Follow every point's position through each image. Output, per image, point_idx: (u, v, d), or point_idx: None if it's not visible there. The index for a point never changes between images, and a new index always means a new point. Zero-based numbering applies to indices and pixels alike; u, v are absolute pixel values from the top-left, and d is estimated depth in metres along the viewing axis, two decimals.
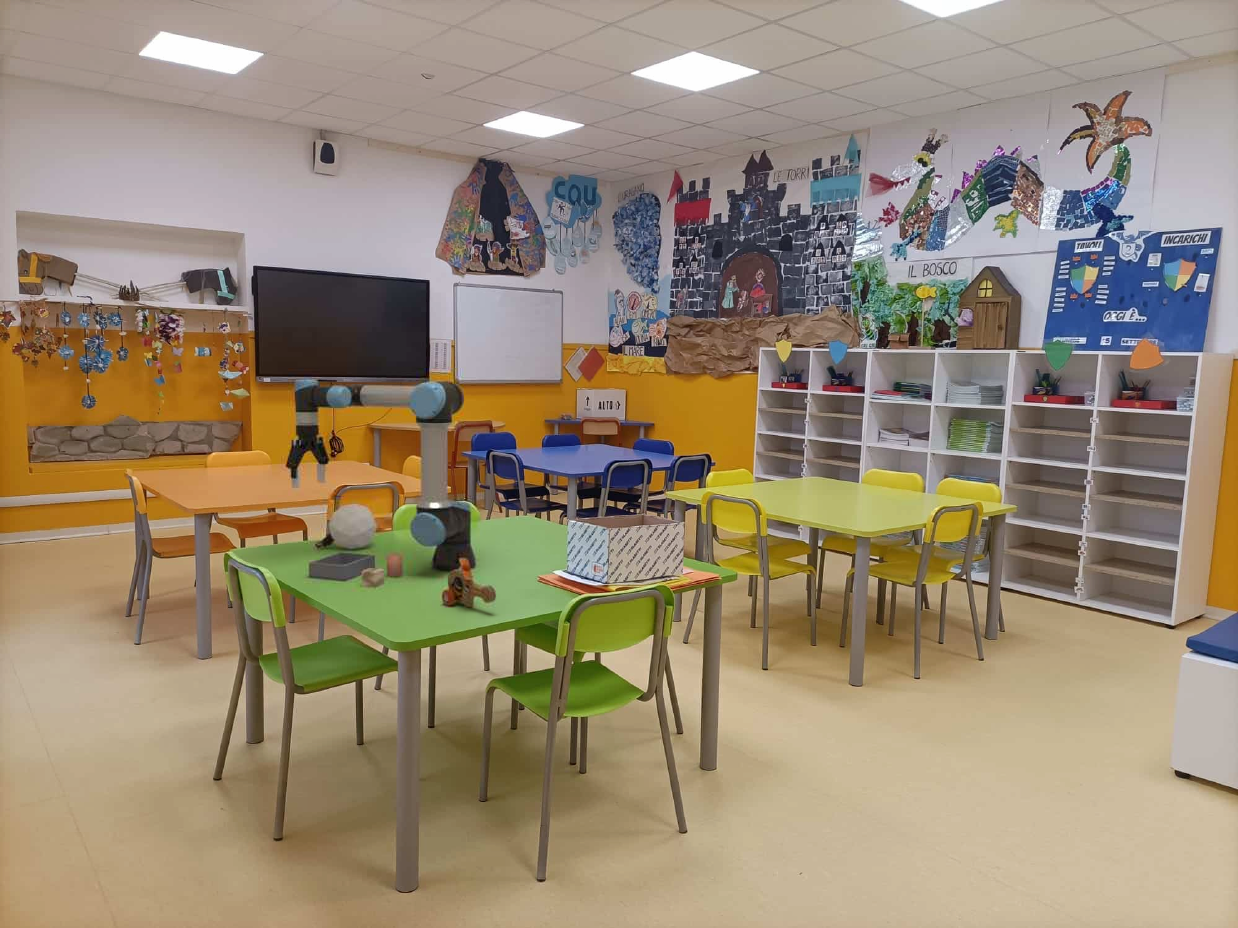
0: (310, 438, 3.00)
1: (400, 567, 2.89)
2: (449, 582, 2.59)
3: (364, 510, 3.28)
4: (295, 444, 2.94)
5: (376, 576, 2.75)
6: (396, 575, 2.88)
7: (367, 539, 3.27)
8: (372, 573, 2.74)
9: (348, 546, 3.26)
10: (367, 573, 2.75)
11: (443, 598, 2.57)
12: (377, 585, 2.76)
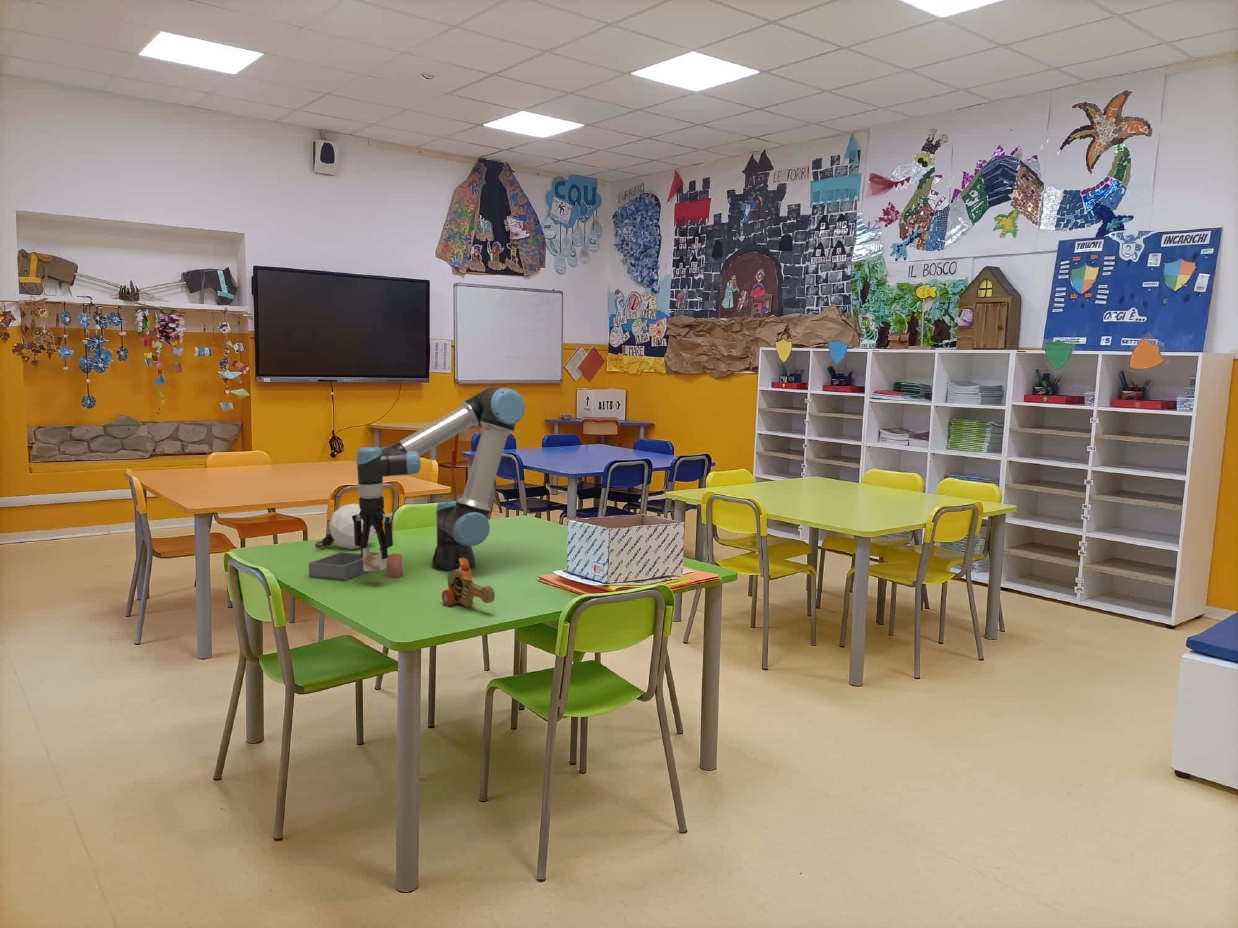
0: (370, 512, 2.74)
1: (400, 567, 2.89)
2: (449, 582, 2.59)
3: None
4: None
5: (377, 560, 2.74)
6: (396, 575, 2.88)
7: None
8: (373, 557, 2.74)
9: (348, 546, 3.26)
10: (368, 557, 2.75)
11: (443, 598, 2.57)
12: None
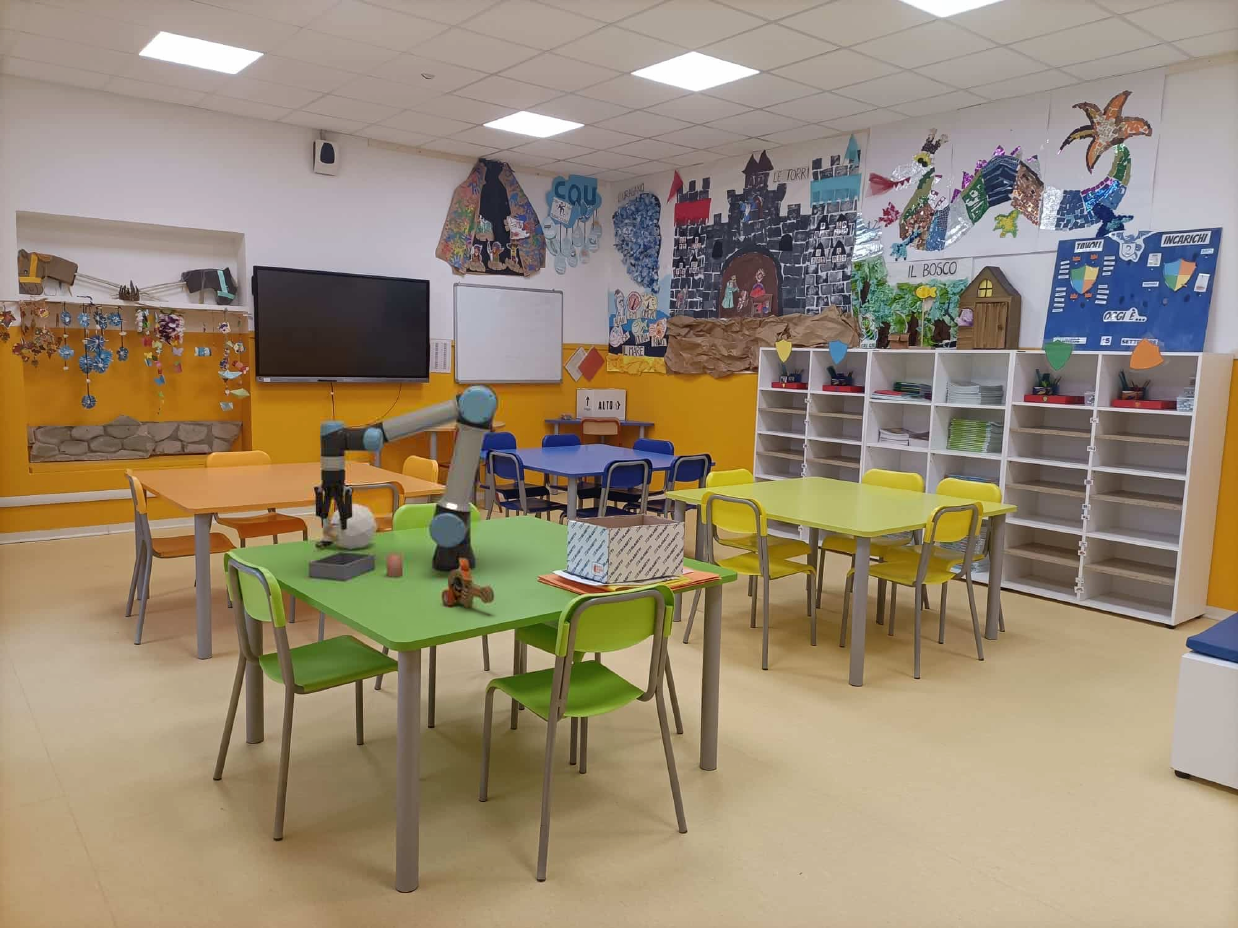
0: (331, 484, 2.84)
1: (400, 567, 2.89)
2: (449, 582, 2.59)
3: (364, 510, 3.28)
4: None
5: (336, 531, 2.84)
6: (396, 575, 2.88)
7: (367, 539, 3.27)
8: (333, 527, 2.84)
9: (348, 546, 3.26)
10: (328, 527, 2.84)
11: (443, 598, 2.57)
12: None
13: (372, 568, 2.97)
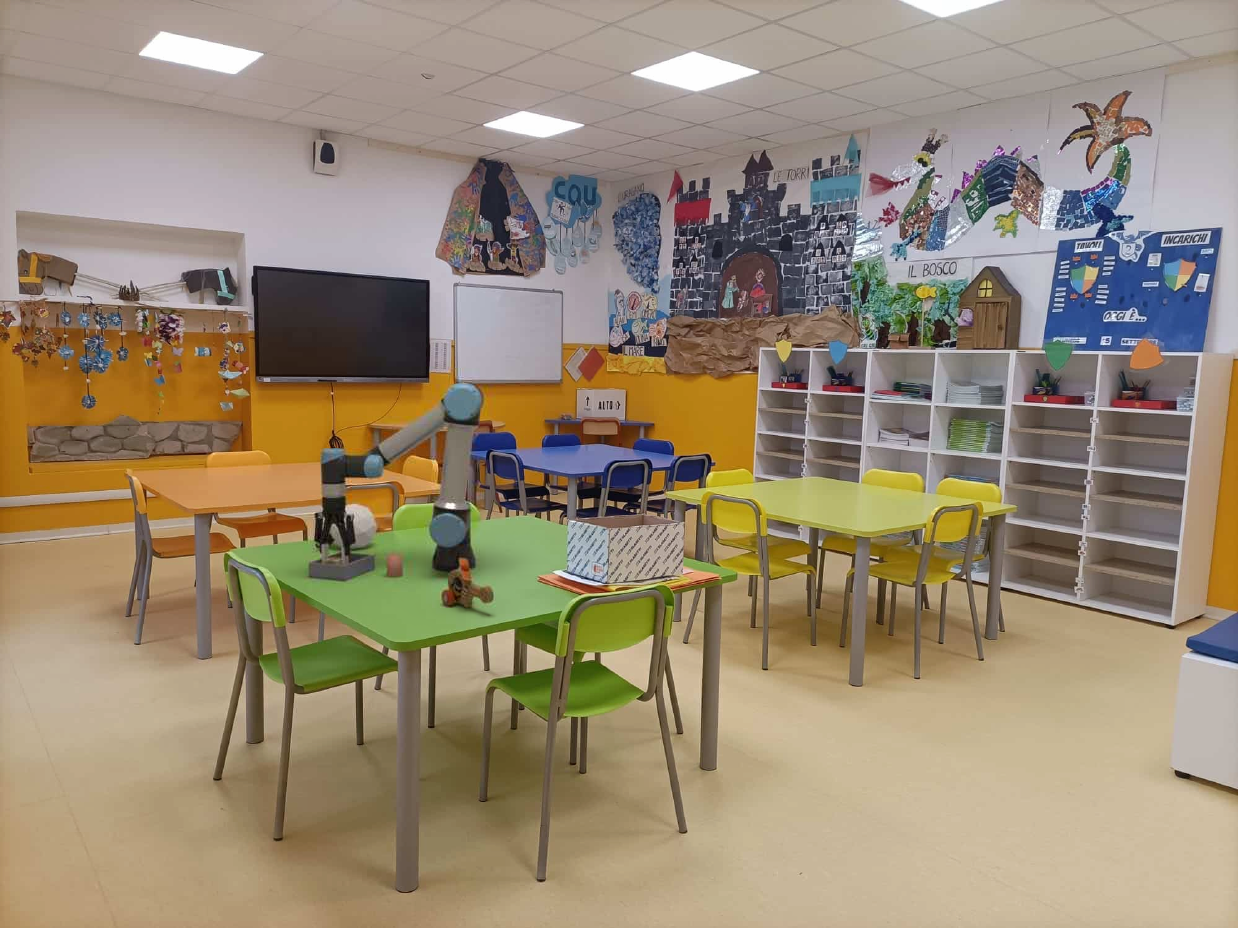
0: (332, 511, 2.85)
1: (400, 567, 2.89)
2: (449, 582, 2.59)
3: (364, 510, 3.28)
4: None
5: None
6: (396, 575, 2.88)
7: (367, 539, 3.27)
8: (334, 561, 2.85)
9: None
10: (329, 562, 2.85)
11: (443, 598, 2.57)
12: None
13: (372, 568, 2.97)
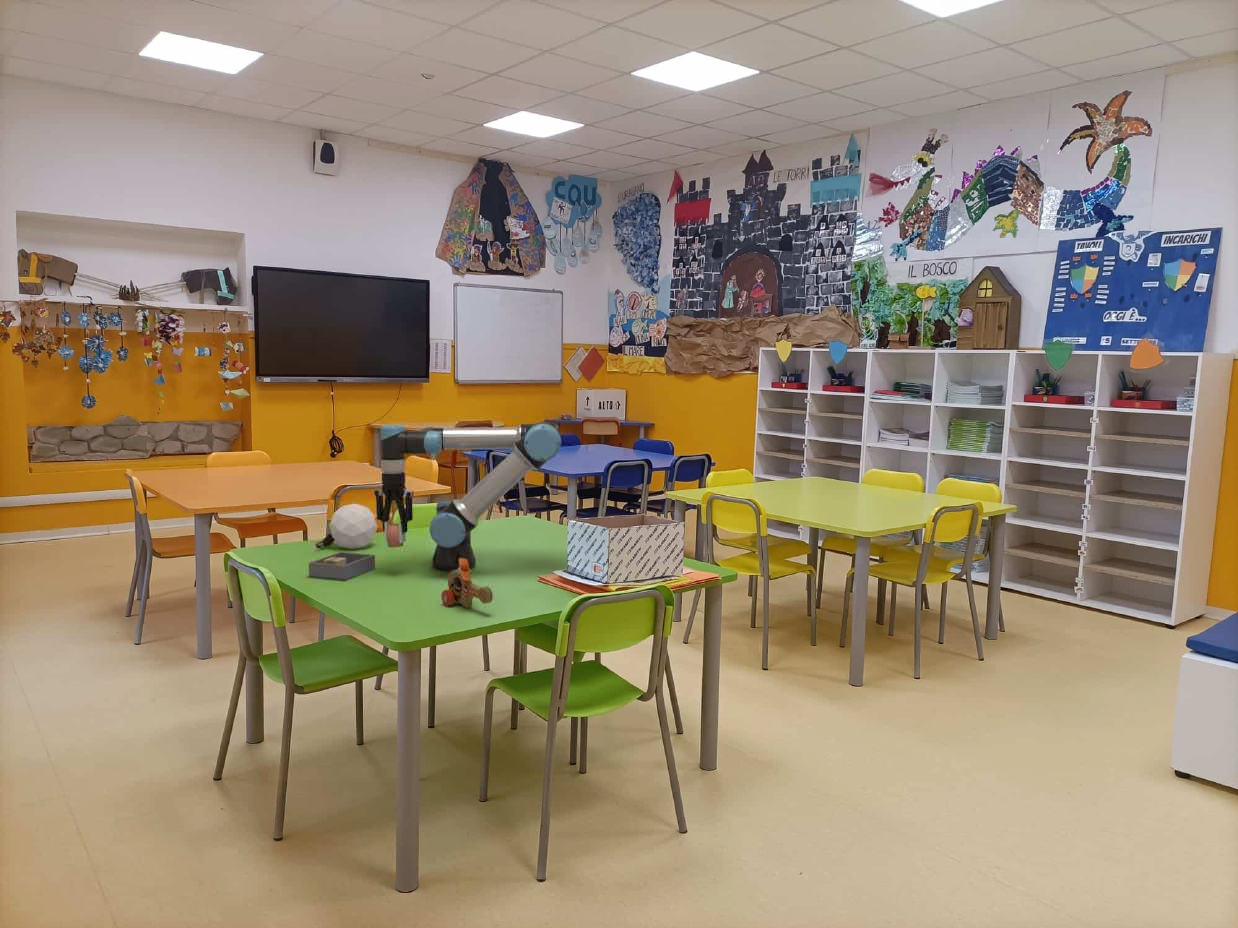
0: (392, 487, 2.85)
1: None
2: (449, 582, 2.59)
3: (365, 510, 3.28)
4: None
5: None
6: (397, 544, 2.86)
7: (368, 539, 3.28)
8: (334, 561, 2.85)
9: (349, 546, 3.26)
10: (329, 562, 2.85)
11: (442, 598, 2.56)
12: None
13: (372, 568, 2.97)
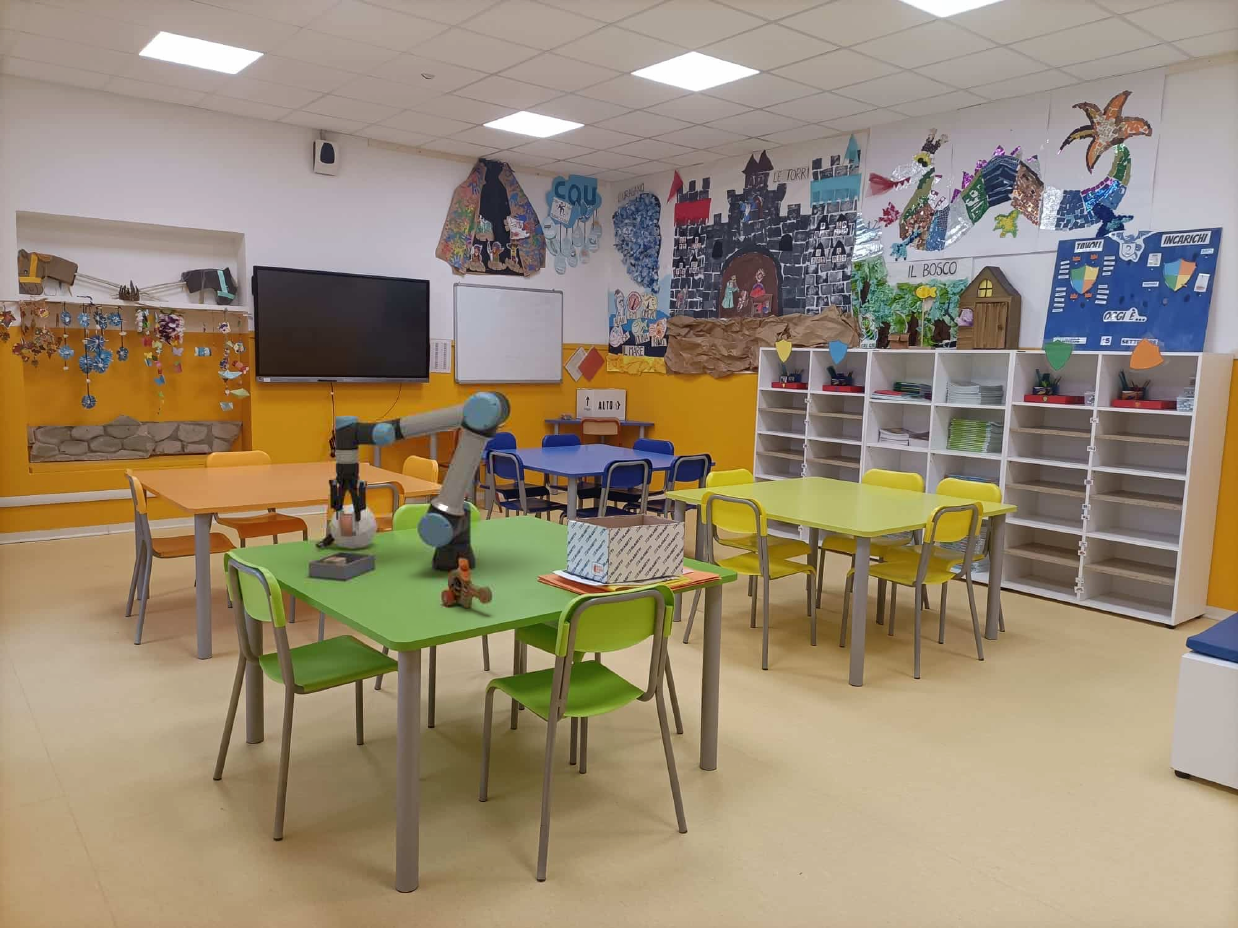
0: (346, 476, 2.91)
1: None
2: (449, 582, 2.59)
3: (365, 510, 3.28)
4: None
5: None
6: (349, 533, 2.92)
7: (368, 539, 3.28)
8: (334, 561, 2.85)
9: (349, 546, 3.26)
10: (329, 562, 2.85)
11: (442, 598, 2.56)
12: None
13: (372, 568, 2.97)
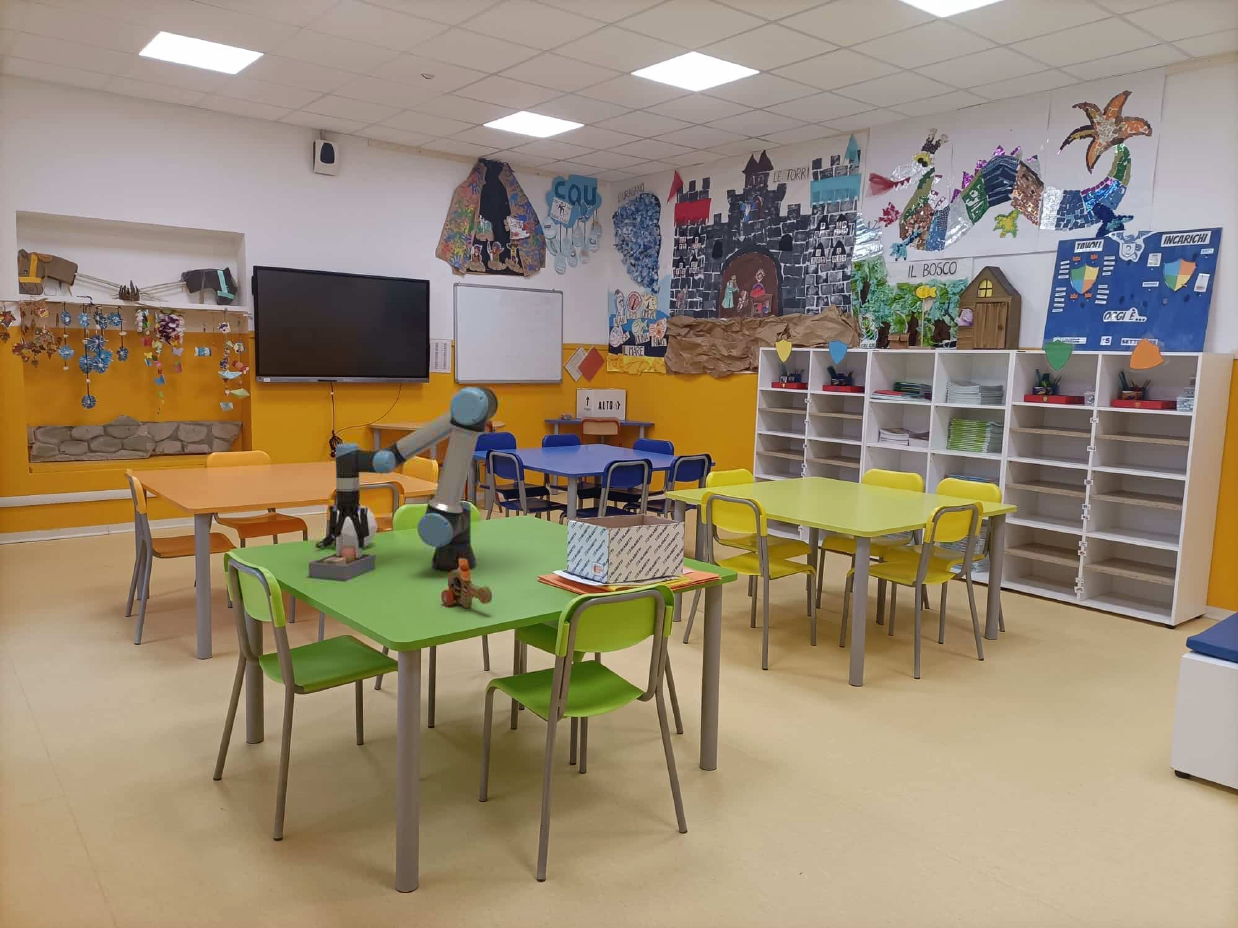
0: (346, 504, 2.92)
1: (354, 559, 2.94)
2: (449, 582, 2.59)
3: None
4: None
5: None
6: None
7: (368, 539, 3.28)
8: (334, 561, 2.85)
9: (349, 546, 3.26)
10: (329, 562, 2.85)
11: (442, 598, 2.56)
12: None
13: (372, 568, 2.97)
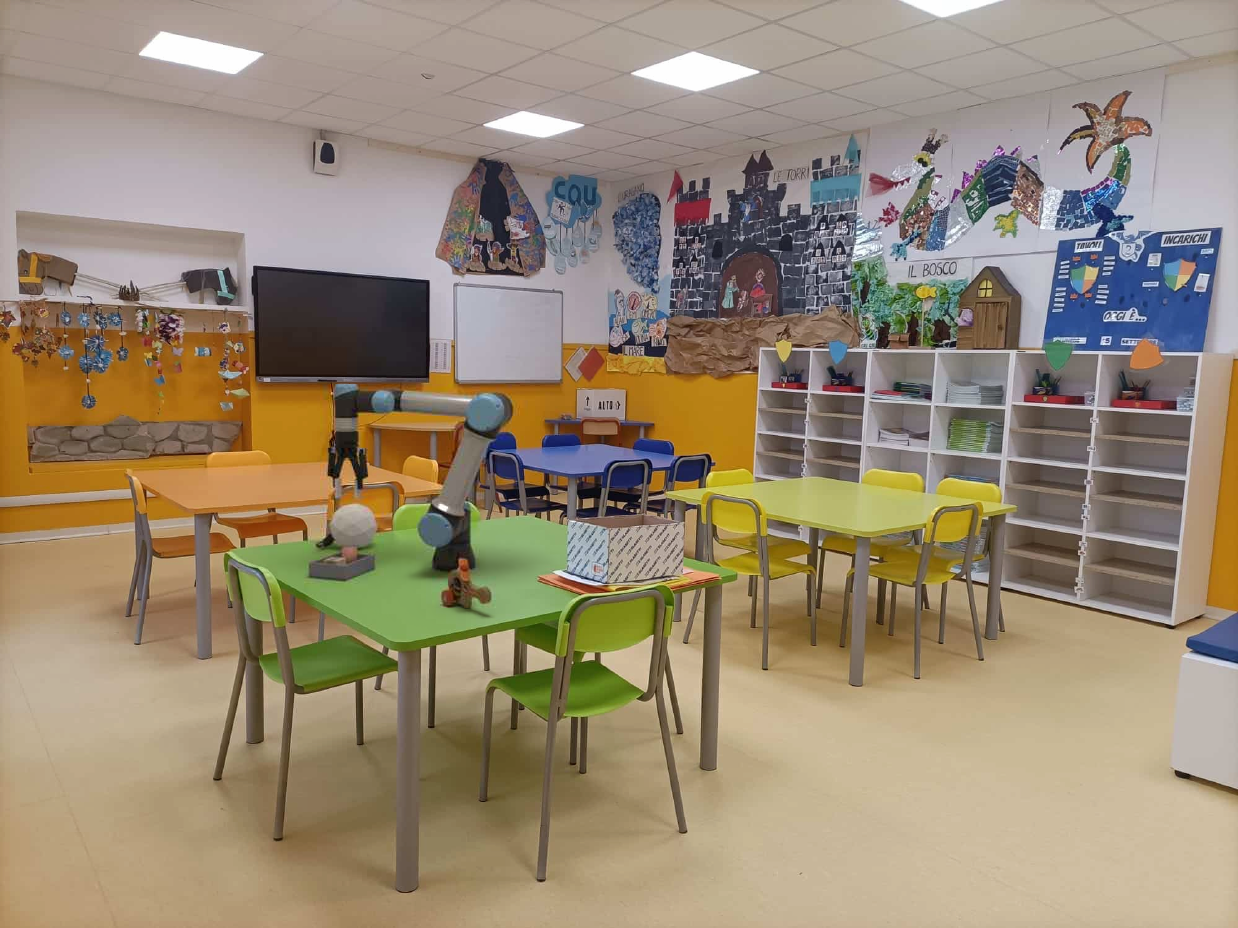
0: (345, 445, 2.90)
1: (355, 559, 2.95)
2: (449, 582, 2.59)
3: (365, 510, 3.28)
4: None
5: None
6: None
7: (368, 539, 3.28)
8: (334, 561, 2.85)
9: (349, 546, 3.26)
10: (329, 562, 2.85)
11: (442, 598, 2.56)
12: None
13: (372, 568, 2.97)
